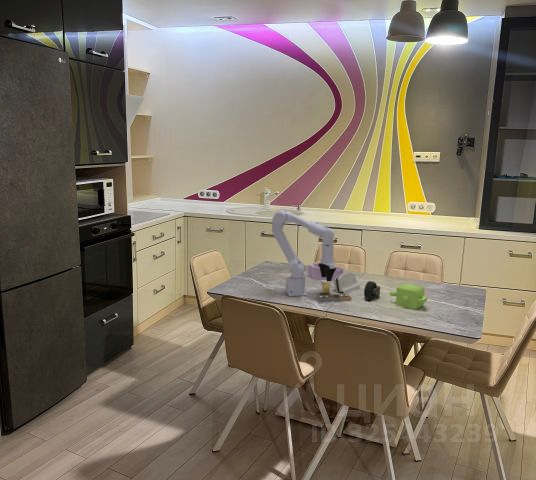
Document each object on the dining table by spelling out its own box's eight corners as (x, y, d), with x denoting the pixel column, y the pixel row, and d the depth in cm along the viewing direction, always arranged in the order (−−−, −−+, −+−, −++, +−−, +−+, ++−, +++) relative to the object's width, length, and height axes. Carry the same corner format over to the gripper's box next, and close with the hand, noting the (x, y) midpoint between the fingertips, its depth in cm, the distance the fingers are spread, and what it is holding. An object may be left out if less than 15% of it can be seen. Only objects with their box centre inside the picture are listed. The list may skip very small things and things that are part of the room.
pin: (323, 297, 249) (323, 284, 247) (320, 295, 252) (321, 282, 251) (330, 296, 249) (330, 283, 248) (327, 294, 253) (328, 281, 252)
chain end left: (320, 302, 240) (320, 298, 240) (316, 298, 246) (316, 294, 246) (340, 301, 243) (340, 297, 242) (336, 297, 248) (336, 293, 248)
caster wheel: (371, 304, 243) (384, 294, 254) (372, 285, 240) (384, 276, 252) (361, 302, 246) (373, 292, 257) (361, 283, 243) (374, 274, 255)
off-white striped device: (343, 294, 254) (339, 275, 255) (336, 295, 258) (331, 276, 258) (360, 287, 267) (356, 269, 267) (353, 288, 270) (349, 271, 270)
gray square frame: (322, 297, 248) (322, 295, 248) (319, 294, 253) (319, 292, 252) (331, 297, 249) (331, 294, 249) (328, 294, 254) (328, 292, 253)
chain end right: (331, 301, 242) (331, 297, 241) (326, 297, 248) (327, 293, 247) (351, 300, 244) (351, 296, 244) (346, 296, 250) (346, 292, 250)
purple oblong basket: (346, 278, 284) (346, 267, 283) (336, 283, 274) (336, 271, 273) (315, 273, 296) (316, 261, 294) (305, 277, 286) (305, 265, 284)
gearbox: (385, 304, 241) (385, 286, 239) (394, 299, 248) (395, 281, 246) (420, 312, 229) (421, 293, 227) (429, 306, 237) (430, 287, 235)
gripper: (340, 255, 241) (339, 282, 243) (329, 249, 254) (328, 275, 257) (326, 256, 239) (325, 283, 241) (316, 249, 253) (315, 275, 255)
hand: (326, 279), depth 249 cm, fingers open, 7 cm apart
